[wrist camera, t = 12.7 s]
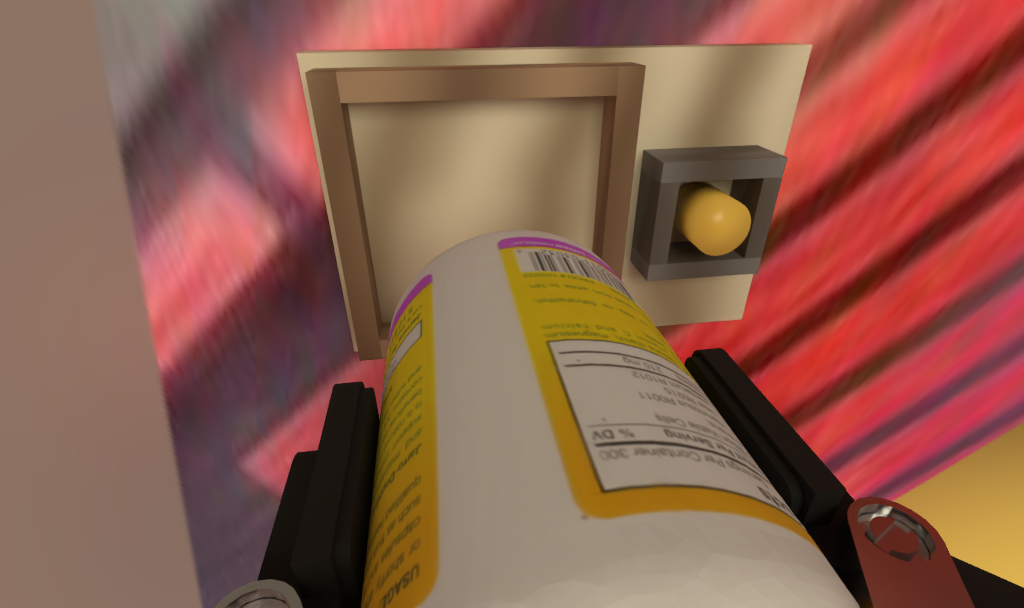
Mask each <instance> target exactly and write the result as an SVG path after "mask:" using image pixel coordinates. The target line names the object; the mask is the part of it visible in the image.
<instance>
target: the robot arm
mask: <svg viewBox="0 0 1024 608" xmlns="http://www.w3.org/2000/svg"><path fill="white" fill-rule="evenodd" d="M684 366H685V367H686V369H687V370H688V371H689V373H690V374H691V376H692V377H693V378H694V380H695V381H696V382H697V384H698V385H699V386H700V388H701V389H702V391H703V392H704V393H705V395H706V396H707V397H708V399H709V400H710V402H711V403H712V404H713V405H714V407H715V408H716V410H717V411H718V412H719V414H720V415H721V417H722V418H723V419H724V421H725V422H726V423H727V425H728V426H729V427H730V429H731V430H732V431H733V433H734V434H735V436H736V437H737V438H738V440H739V441H740V442H741V444H742V445H743V446H744V448H745V449H746V450H747V452H748V453H749V454H750V456H751V457H752V459H753V460H754V461H755V463H756V464H757V465H758V467H759V468H760V469H761V471H762V472H763V473H764V475H765V476H766V478H767V479H768V480H769V482H770V483H771V484H772V486H773V487H774V489H775V490H776V491H777V493H778V494H779V495H780V496H781V497H782V499H783V500H784V502H785V503H786V504H787V506H788V507H789V508H790V510H791V511H792V513H793V514H794V515H795V517H796V518H797V519H798V520H799V521H800V523H801V524H802V525H803V526H804V528H805V529H806V531H807V533H808V534H809V535H810V537H811V538H812V539H813V541H814V542H815V543H816V545H817V546H818V548H819V549H820V551H821V552H822V553H823V555H824V556H825V558H826V559H827V561H828V562H829V563H830V565H831V566H832V568H833V569H834V571H835V572H836V573H837V575H838V576H839V578H840V579H841V581H842V582H843V583H844V585H845V586H846V588H847V589H848V591H849V592H850V593H851V595H852V596H853V598H854V599H855V600H856V602H857V603H858V605H859V607H860V608H1024V588H1023V587H1021V586H1018V585H1016V584H1014V583H1012V582H1009V581H1007V580H1005V579H1002V578H1000V577H998V576H996V575H993V574H991V573H989V572H987V571H984V570H982V569H980V568H978V567H975V566H973V565H971V564H968V563H966V562H964V561H962V560H959V559H957V558H955V557H952V556H951V555H950V553H949V551H948V549H947V547H946V544H945V542H944V541H943V539H942V538H941V536H940V535H939V533H938V532H937V531H936V529H935V528H933V527H932V526H931V525H930V524H929V523H928V522H927V521H926V520H925V519H924V518H922V517H921V516H920V515H918V514H917V513H915V512H914V511H912V510H911V509H908V508H906V507H905V506H903V505H900V504H898V503H896V502H893V501H889V500H886V499H883V498H874V497H867V498H860V499H857V500H856V501H855V500H854V499H853V498H852V497H851V496H850V495H849V494H848V492H847V491H846V488H845V487H844V486H843V485H842V484H841V483H840V482H839V480H838V479H837V478H836V477H835V476H834V475H833V474H832V472H831V471H830V470H829V469H828V468H827V467H826V466H825V464H824V463H823V462H822V461H821V460H820V459H819V458H818V456H817V455H816V454H815V453H814V452H813V451H812V450H811V448H810V447H809V446H808V445H807V444H806V443H805V442H804V441H803V439H802V438H801V437H800V436H799V435H798V434H797V433H796V431H795V430H794V429H793V428H792V427H791V426H790V425H789V423H788V422H787V421H786V420H785V419H784V418H783V417H782V415H781V414H780V413H779V412H778V411H777V410H776V409H775V407H774V406H773V405H772V404H771V403H770V402H769V401H768V399H767V398H766V397H765V396H764V395H763V394H762V393H761V391H760V390H759V389H758V388H757V387H756V386H755V385H754V383H753V382H752V381H751V380H750V379H749V378H748V377H747V375H746V374H745V373H744V372H743V371H742V370H741V369H740V367H739V366H738V365H737V364H736V363H735V362H734V361H733V359H732V358H731V357H730V356H729V355H728V354H727V353H726V352H725V351H724V350H723V349H721V348H715V349H705V350H696V351H694V353H693V354H692V357H689V358H687V359H686V361H685V365H684ZM379 424H380V420H379V414H378V409H377V403H376V397H375V392H374V389H373V388H365V387H364V384H363V382H352V383H341V384H335V385H334V387H333V390H332V394H331V398H330V402H329V407H328V411H327V415H326V419H325V423H324V427H323V431H322V435H321V439H320V443H319V448H318V450H316V451H307V452H298V453H297V454H296V455H295V457H294V459H293V462H292V465H291V468H290V472H289V475H288V478H287V482H286V485H285V489H284V492H283V495H282V499H281V502H280V506H279V509H278V512H277V516H276V519H275V523H274V526H273V529H272V533H271V536H270V540H269V543H268V546H267V550H266V553H265V557H264V560H263V563H262V567H261V570H260V574H259V577H258V580H257V581H255V582H252V583H249V584H247V585H244V586H242V587H240V588H238V589H236V590H235V591H233V592H232V593H230V594H229V595H227V596H226V597H224V598H223V599H222V600H221V601H220V602H219V603H218V604H217V605H216V606H215V607H214V608H361V600H362V590H363V581H364V572H365V562H366V552H367V542H368V532H369V523H370V513H371V503H372V493H373V483H374V473H375V463H376V453H377V444H378V434H379Z"/></svg>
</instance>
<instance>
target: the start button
mask: <svg viewBox="0 0 1024 608" xmlns="http://www.w3.org/2000/svg"><path fill="white" fill-rule="evenodd" d="M673 226H674V227H675V228H676V229H677V230H678V231H679V232H680V233H681V234H682V235H684V236H685V237H686V238H687V239H688V240H689V241H690V242H691V243H693V244H694V245H695V246H696V247H697V248H698V249H699V250H700V251H702V252H703V253H705V254H707V255H711V256H719V255H724V254H727V253H729V252H731V251H733V250H734V249H736V248H737V247H738V246H739V245H740V244H741V243H742V242H743V241H744V239H745V238H746V236H747V234H748V232H749V230H750V226H751V216H750V213H749V210H748V209H747V208H746V206H745V205H743V204H742V203H740V202H739V201H737V200H735V199H734V198H732V197H731V196H729V195H727V194H726V193H724V192H723V191H721V190H719V189H718V188H716V187H714V186H713V185H711V184H709V183H707V182H693V183H690V184H688V185H686V186H684V187H683V188H681V189H680V190H679V192H678V198H677V204H676V210H675V216H674V223H673Z"/></svg>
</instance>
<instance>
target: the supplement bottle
mask: <svg viewBox="0 0 1024 608" xmlns="http://www.w3.org/2000/svg"><path fill="white" fill-rule="evenodd" d="M361 608H860V607H859V605H858V603H857V602H856V600H855V599H854V598H853V596H852V595H851V593H850V592H849V591H848V589H847V588H846V586H845V585H844V583H843V582H842V581H841V579H840V578H839V576H838V575H837V573H836V572H835V571H834V569H833V568H832V566H831V565H830V563H829V562H828V561H827V559H826V558H825V556H824V555H823V553H822V552H821V551H820V549H819V548H818V546H817V545H816V543H815V542H814V541H813V539H812V538H811V537H810V535H809V534H808V533H807V531H806V529H805V528H804V526H803V525H802V524H801V523H800V521H799V520H798V519H797V518H796V517H795V515H794V514H793V513H792V511H791V510H790V508H789V507H788V506H787V504H786V503H785V502H784V500H783V499H782V497H781V496H780V495H779V494H778V493H777V491H776V490H775V489H774V487H773V486H772V484H771V483H770V482H769V480H768V479H767V478H766V476H765V475H764V473H763V472H762V471H761V469H760V468H759V467H758V465H757V464H756V463H755V461H754V460H753V459H752V457H751V456H750V454H749V453H748V452H747V450H746V449H745V448H744V446H743V445H742V444H741V442H740V441H739V440H738V438H737V437H736V436H735V434H734V433H733V431H732V430H731V429H730V427H729V426H728V425H727V423H726V422H725V421H724V419H723V418H722V417H721V415H720V414H719V412H718V411H717V410H716V408H715V407H714V405H713V404H712V403H711V402H710V400H709V399H708V397H707V396H706V395H705V393H704V392H703V391H702V389H701V388H700V386H699V385H698V384H697V382H696V381H695V380H694V378H693V377H692V376H691V374H690V373H689V371H688V370H687V369H686V367H685V366H684V364H683V363H682V362H681V360H680V359H679V357H678V356H677V355H676V353H675V352H674V351H673V349H672V348H671V346H670V345H669V344H668V342H667V341H666V340H665V338H664V337H663V336H662V334H661V333H660V332H659V330H658V329H657V328H656V326H655V325H654V323H653V322H652V321H651V319H650V318H649V317H648V315H647V314H646V312H645V311H644V310H643V308H642V307H641V306H640V304H639V303H638V302H637V300H636V299H635V298H634V296H633V295H632V294H631V292H630V291H629V290H628V288H627V287H626V286H625V285H624V283H623V282H622V281H621V279H620V278H619V277H618V276H617V275H616V274H615V273H614V272H613V271H612V269H611V268H610V267H609V266H608V265H607V264H606V263H605V262H604V261H603V260H602V259H600V258H599V257H598V256H597V255H596V254H594V253H593V252H591V251H590V250H589V249H587V248H586V247H584V246H582V245H580V244H578V243H576V242H574V241H572V240H570V239H567V238H565V237H561V236H558V235H555V234H551V233H547V232H541V231H534V230H506V231H498V232H493V233H488V234H484V235H480V236H477V237H474V238H471V239H468V240H466V241H464V242H462V243H459V244H457V245H455V246H453V247H452V248H450V249H448V250H446V251H445V252H443V253H442V254H440V255H439V256H437V257H436V258H435V259H433V260H432V261H431V262H430V263H429V264H427V265H426V266H425V267H424V268H423V269H422V270H421V271H420V272H419V273H418V274H417V276H416V277H415V278H414V279H413V280H412V282H411V283H410V284H409V286H408V287H407V289H406V290H405V292H404V294H403V295H402V297H401V299H400V301H399V303H398V305H397V307H396V310H395V313H394V316H393V319H392V322H391V327H390V333H389V341H388V347H387V356H386V366H385V374H384V385H383V393H382V406H381V414H380V424H379V434H378V444H377V453H376V463H375V473H374V483H373V493H372V503H371V513H370V523H369V532H368V542H367V552H366V562H365V572H364V581H363V590H362V600H361Z"/></svg>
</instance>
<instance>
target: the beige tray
mask: <svg viewBox="0 0 1024 608" xmlns="http://www.w3.org/2000/svg"><path fill="white" fill-rule="evenodd" d="M811 48H812V45H809V44H798V43H769V44H705V45H642V46H578V47H514V48H451V49H387V50H323V51H301V52H298V53H296V54H297V59H298V64H299V70H300V75H301V80H302V85H303V90H304V95H305V100H306V105H307V111H308V116H309V121H310V126H311V131H312V136H313V141H314V147H315V152H316V157H317V162H318V167H319V172H320V177H321V182H322V188H323V193H324V198H325V203H326V208H327V213H328V218H329V223H330V229H331V234H332V239H333V244H334V249H335V254H336V259H337V265H338V270H339V275H340V280H341V285H342V290H343V295H344V300H345V306H346V311H347V316H348V321H349V326H350V331H351V336H352V341H353V347H354V352H357V351H358V353H359V358H360V361H362V360H374V359H385V358H386V356H387V347H388V341H389V333H390V327H391V322H392V319H393V316H394V313H395V310H396V307H397V305H398V303H399V301H400V299H401V297H402V295H403V294H404V292H405V290H406V289H407V287H408V286H409V284H410V283H411V282H412V280H413V279H414V278H415V277H416V276H417V274H418V273H419V272H420V271H421V270H422V269H423V268H424V267H425V266H426V265H427V264H429V263H430V262H431V261H432V260H433V259H435V258H436V257H437V256H439V255H440V254H442V253H443V252H445V251H446V250H448V249H450V248H452V247H453V246H455V245H457V244H459V243H462V242H464V241H466V240H468V239H471V238H474V237H477V236H480V235H484V234H488V233H493V232H498V231H506V230H534V231H541V232H547V233H551V234H555V235H558V236H561V237H565V238H567V239H570V240H572V241H574V242H576V243H578V244H580V245H582V246H584V247H586V248H587V249H589V250H590V251H591V252H593V253H594V254H596V255H597V256H598V257H599V258H600V259H602V260H603V261H604V262H605V263H606V264H607V265H608V266H609V267H610V268H611V269H612V271H613V272H614V273H615V274H616V275H617V276H618V277H619V278H620V279H621V281H622V282H623V283H624V285H625V286H626V287H627V288H628V290H629V291H630V292H631V294H632V295H633V296H634V298H635V299H636V300H637V302H638V303H639V304H640V306H641V307H642V308H643V310H644V311H645V312H646V314H647V315H648V317H649V318H650V319H651V321H652V322H653V323H654V325H655V326H667V325H679V324H691V323H703V322H715V321H727V320H738V319H742V316H743V312H744V308H745V305H746V301H747V297H748V293H749V289H750V285H751V281H752V277H753V274H757V272H758V268H759V265H760V261H761V257H762V253H763V249H764V245H765V242H766V238H767V234H768V230H769V226H770V223H771V219H772V215H773V211H774V207H775V203H776V200H777V196H778V192H779V188H780V184H781V180H782V177H783V173H784V169H785V165H786V161H787V157H785V156H784V153H785V149H786V145H787V141H788V137H789V133H790V130H791V126H792V122H793V118H794V114H795V110H796V106H797V102H798V99H799V95H800V91H801V87H802V83H803V79H804V75H805V71H806V67H807V64H808V60H809V56H810V52H811ZM693 182H707V183H709V184H711V185H713V186H714V187H716V188H718V189H719V190H721V191H723V192H724V193H726V194H727V195H729V196H731V197H732V198H734V199H735V200H737V201H739V202H740V203H742V204H743V205H745V206H746V208H747V209H748V210H749V213H750V216H751V226H750V230H749V232H748V234H747V236H746V238H745V239H744V241H743V242H742V243H741V244H740V245H739V246H738V247H737V248H736V249H734V250H733V251H731V252H729V253H727V254H724V255H719V256H711V255H707V254H705V253H703V252H702V251H700V250H699V249H698V248H697V247H696V246H695V245H694V244H693V243H691V242H690V241H689V240H688V239H687V238H686V237H685V236H684V235H682V234H681V233H680V232H679V231H678V230H677V229H676V228H675V227H674V226H673V223H674V216H675V210H676V204H677V198H678V192H679V190H680V189H681V188H683V187H684V186H686V185H688V184H690V183H693Z"/></svg>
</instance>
